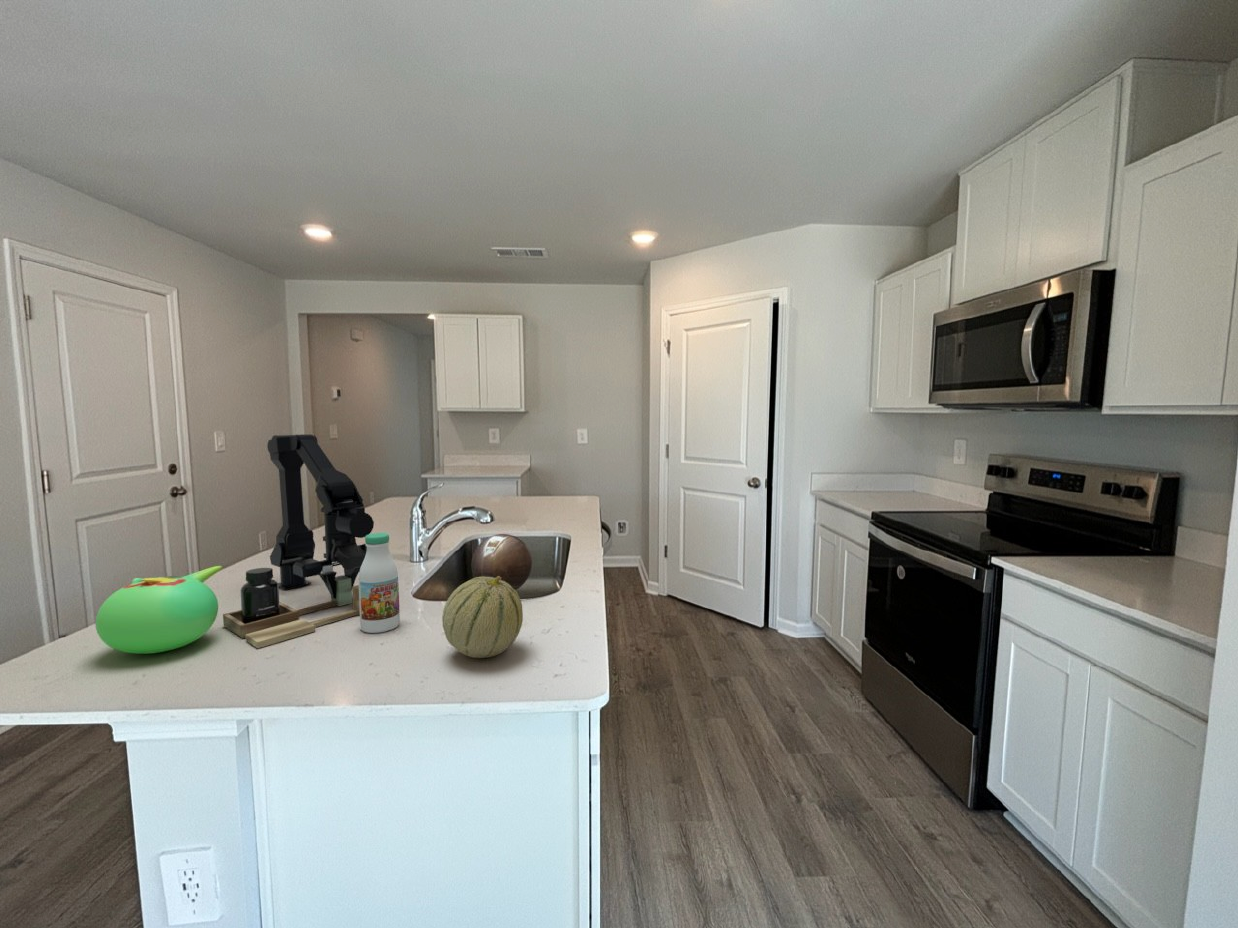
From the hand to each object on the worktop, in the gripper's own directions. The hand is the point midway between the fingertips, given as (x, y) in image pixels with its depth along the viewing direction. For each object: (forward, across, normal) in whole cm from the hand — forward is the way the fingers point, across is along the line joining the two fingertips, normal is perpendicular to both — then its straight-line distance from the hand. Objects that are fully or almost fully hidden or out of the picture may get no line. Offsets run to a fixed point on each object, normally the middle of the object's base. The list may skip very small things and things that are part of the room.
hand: (341, 596), depth 130 cm
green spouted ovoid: (+2, -33, +2) cm, 33 cm away
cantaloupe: (+2, +3, -49) cm, 49 cm away
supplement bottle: (+2, -17, 0) cm, 17 cm away
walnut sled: (+2, -10, 0) cm, 11 cm away
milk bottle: (+2, -2, -21) cm, 21 cm away
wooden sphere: (+2, +29, -24) cm, 38 cm away
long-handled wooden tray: (+2, -10, -10) cm, 15 cm away
